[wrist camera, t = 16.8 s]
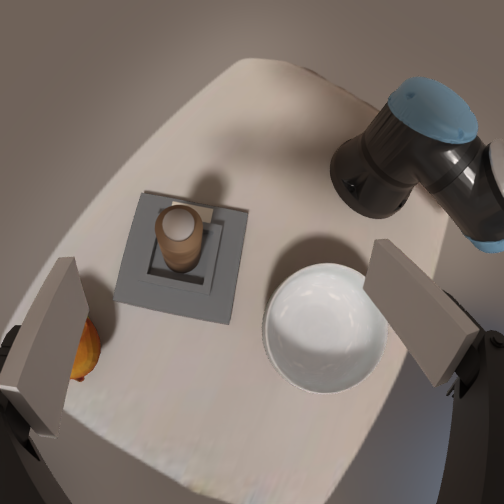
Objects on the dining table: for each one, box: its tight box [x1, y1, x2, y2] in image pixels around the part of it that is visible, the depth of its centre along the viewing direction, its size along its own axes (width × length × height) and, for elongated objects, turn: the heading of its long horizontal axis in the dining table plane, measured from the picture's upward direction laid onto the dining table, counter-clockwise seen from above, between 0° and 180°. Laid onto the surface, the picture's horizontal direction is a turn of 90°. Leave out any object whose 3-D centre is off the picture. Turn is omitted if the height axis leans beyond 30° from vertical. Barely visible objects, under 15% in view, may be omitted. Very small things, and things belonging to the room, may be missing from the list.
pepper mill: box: [155, 205, 203, 273], centre depth 36 cm, size 5×5×12 cm
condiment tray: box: [113, 193, 248, 325], centre depth 42 cm, size 16×16×2 cm
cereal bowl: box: [262, 263, 388, 394], centre depth 40 cm, size 17×17×7 cm
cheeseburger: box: [70, 316, 101, 382], centre depth 33 cm, size 10×11×10 cm
